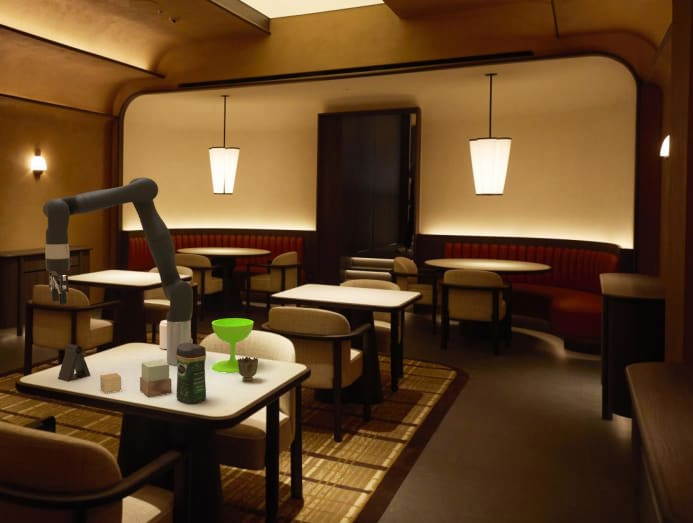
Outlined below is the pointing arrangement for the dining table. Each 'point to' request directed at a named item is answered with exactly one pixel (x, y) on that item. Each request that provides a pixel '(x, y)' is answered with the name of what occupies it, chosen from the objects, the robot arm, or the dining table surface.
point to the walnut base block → (155, 387)
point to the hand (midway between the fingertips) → (59, 302)
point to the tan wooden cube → (110, 382)
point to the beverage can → (163, 334)
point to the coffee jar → (191, 373)
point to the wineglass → (231, 339)
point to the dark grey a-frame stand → (73, 364)
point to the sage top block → (155, 370)
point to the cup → (247, 368)
